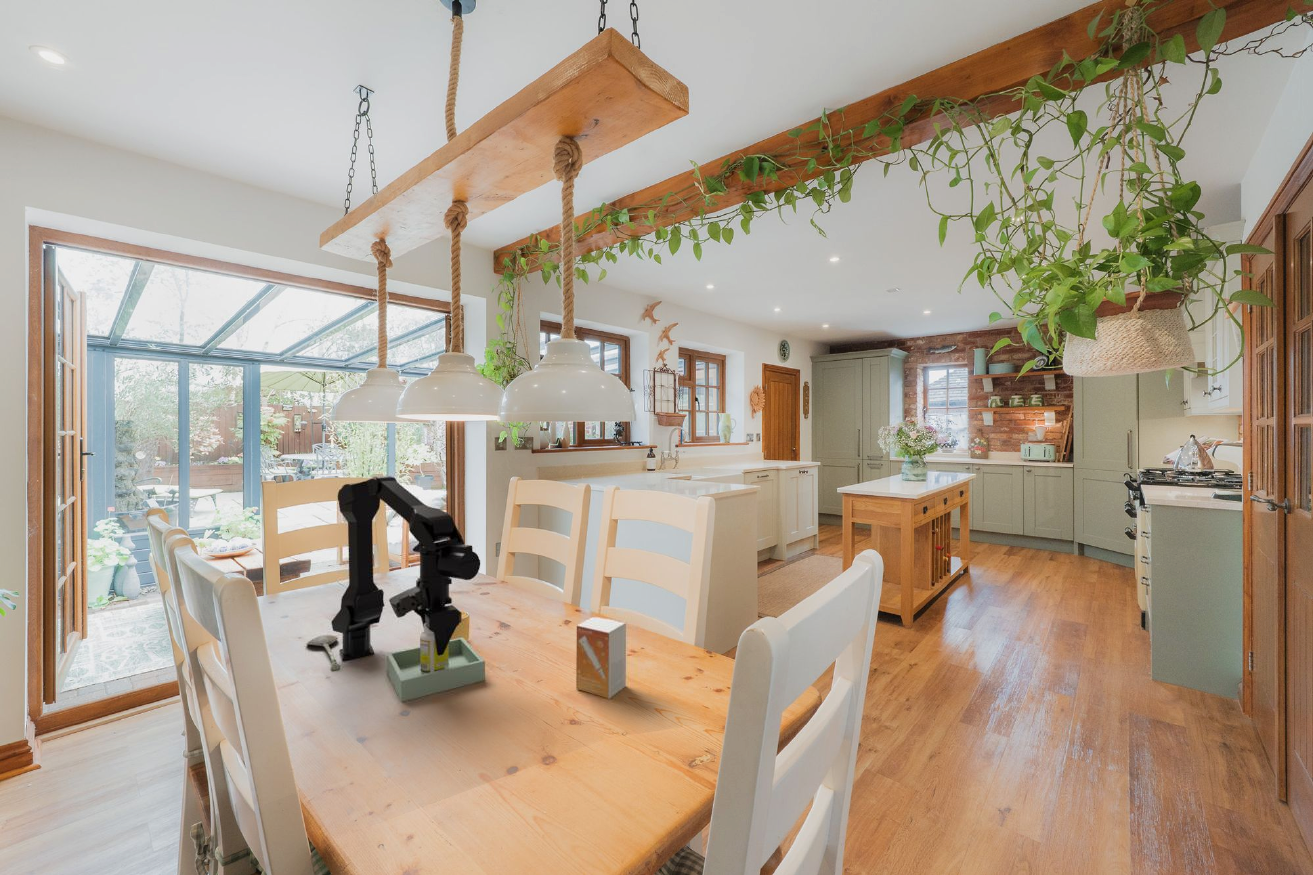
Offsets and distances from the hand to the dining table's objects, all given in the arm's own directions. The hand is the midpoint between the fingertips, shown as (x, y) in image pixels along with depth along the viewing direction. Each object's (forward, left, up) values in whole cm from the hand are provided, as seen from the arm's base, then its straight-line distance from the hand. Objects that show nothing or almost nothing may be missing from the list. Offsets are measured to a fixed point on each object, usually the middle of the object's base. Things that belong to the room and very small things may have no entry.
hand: (434, 647), depth 115 cm
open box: (0, 0, -6) cm, 6 cm away
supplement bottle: (0, 0, -5) cm, 5 cm away
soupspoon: (-27, -18, -7) cm, 33 cm away
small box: (+25, +26, -6) cm, 37 cm away
